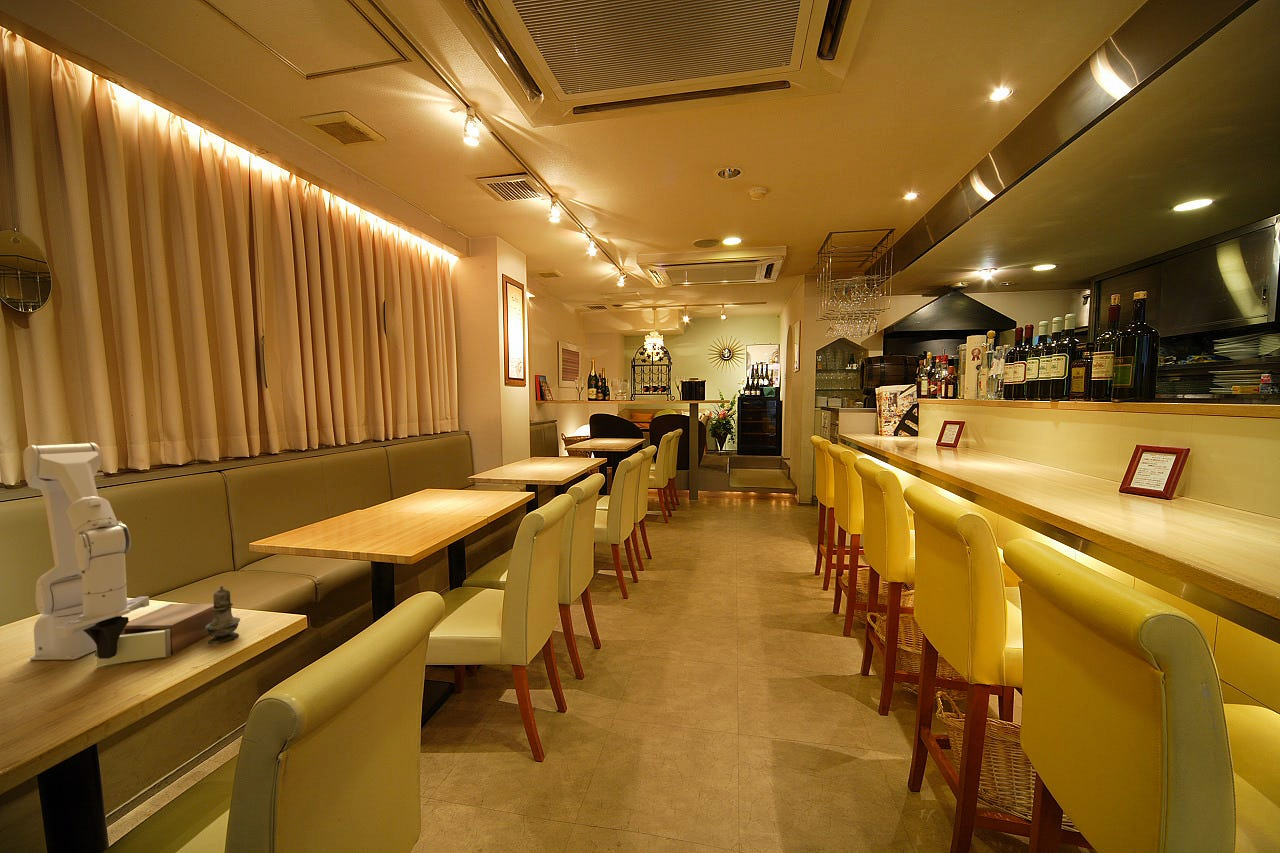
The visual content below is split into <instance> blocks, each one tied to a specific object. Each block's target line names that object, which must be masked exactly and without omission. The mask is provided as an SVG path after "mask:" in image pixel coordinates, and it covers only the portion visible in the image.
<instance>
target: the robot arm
mask: <svg viewBox="0 0 1280 853" xmlns="http://www.w3.org/2000/svg"><path fill="white" fill-rule="evenodd" d="M102 460H103V459H102V451H101V448H100V446H99V445H98V444H96V443H94V442H88V443H71V444H69V443H67V444H47V445H43V444H42V445H34V444H33V445H32V444H30V445H28V446H27V447H25V449H24V450H23V456H22V462H23V463H22V464H23V471H24V478H25V482H26V483H27V486H28V488H32V489H36V490H40V491H41V492H40V493H41V494H42V497H43V500H44V503H45V509H46V516H47V523H48V528H49V529H48V530H49V535H50V536H49V538H50V542H51V550H52V556H53V562H54V566H53V567H52V568H51V569H49V570H48V571H46V572H45V573H43V574H42V575H41V576H40V577H38V579H37V580H36V583H35V596H34V597H35V605H36V609H37V612H38V613H40V614H41V616H39V618H38V619H37V620H36V622H35V624H34V626H33V638H34V655H32V656H30V657H29V660H30V661H31V660H32V661H33V660H34V661H35V660H37V661H38V660H43V661H44V660H45V661H46V660H47V661H49V660H51V661H53V660H67V661H68V660H77V659H80V658H81V657H84V656H87V655H88V654H90V653H93V652H94V651H95V652H96V645H97V654H98V657H99V659H109V658H111V657H114V656H116V653H117V641H118V639H119V637H120V634H121V633H122V631H123V629H124V628H125V626H126V625H127V623H128V622H129V621H130V620H129V617H128V616H124V615H128V614H130V613H131V612H133V611H136V610H138V609H140V608H146V607H149V606H150V596H137V597H135V598H131V599H128V596H127V595H128V594H127V593H128V592H127V572H126V570H127V568H126V567H127V566H126V564H127V563H126V553H129V551H130V549H131V545H132V544H131V542H132V540H131V539H132V538H131V533H130V530H129V527H128V526H127V525H126V524H124V523H123V521H121V520H117V517H116V515H115V513H114V511H113V510H114V509H113V508H112V506H111V503H110V501H109V500H108V499H107V498H104V497H100V496H99V494H98V493H99V492H98V489H97V485H96V481H95V477H96V475H97V473H98V471H99V468H100V467H101V464H102ZM56 581H57V582H56Z"/></svg>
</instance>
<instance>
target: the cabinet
mask: <svg viewBox="0 0 1280 853" xmlns="http://www.w3.org/2000/svg"><path fill="white" fill-rule="evenodd" d="M212 607H214V603H170V604H168V605H165V606H163V607H160V608H158V609H155V610H153V611H150V612H147V613H146V614H143V615H141V616H138V617H135V618H134V619H131V620H129V622H128V623H127V625H126V626H125V628H124V629H123V631H122V633H121V634H120V635H127V634H136V633H144V632H153V631H161V630H168V629H170V642H171V656H173V655H176V654H177V653H180V652H182V651H183V650H186V649H187V648H189V647H190V646H193V645H195V644H197V643H198V642H201V641H203V640H205V639H206V638H208V637H210V636H211V635H209V633H208V632H207V629H205V627H206V626H207V625H208V624H209V623H212V622H213V618H214V610H212Z"/></svg>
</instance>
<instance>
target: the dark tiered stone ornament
mask: <svg viewBox="0 0 1280 853" xmlns="http://www.w3.org/2000/svg"><path fill="white" fill-rule="evenodd" d="M212 598H213V604H214V607H212V610H214V618H213V622H212V623H209V624H208V625H207V626H206V627H205V629H207V632H208V633H209V635H210V636H211V637H212V638H210V639H209V640H208V641H207V644H208V645H210V646H218V645H222V644H226V643H230V642H232V641H235V640H236V639H238V638H239V636H240V633H238V632H235V631H236V630H237V629H238V626H239V623H240V621H241V618H240V617H237V616H236V617H234V616H233V613H232V606H234V604H233V603H232V602H231V590H229V589H225V588H224V586H223V585H220V587H219V589H218V590H217V591H215V592H214V593H213V597H212Z"/></svg>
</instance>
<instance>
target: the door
mask: <svg viewBox="0 0 1280 853" xmlns="http://www.w3.org/2000/svg"><path fill="white" fill-rule="evenodd" d="M93 655H94V657H95V658H96V666H97V667H98V666H105V665H113V664H121V663H127V662H128V663H129V662H135V661H143V660H144V661H145V660H151V659H159V658H160V659H161V658H166V659H168V658H171V657H172V655H171V642H170V629H168V630H161V631H153V632H144V633H136V634H127V635H120V637H119V639H118V641H117V653H116V656H114V657H111V658H109V659H99V657H98V654H97V645H96V650H95V652H94V654H93Z"/></svg>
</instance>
